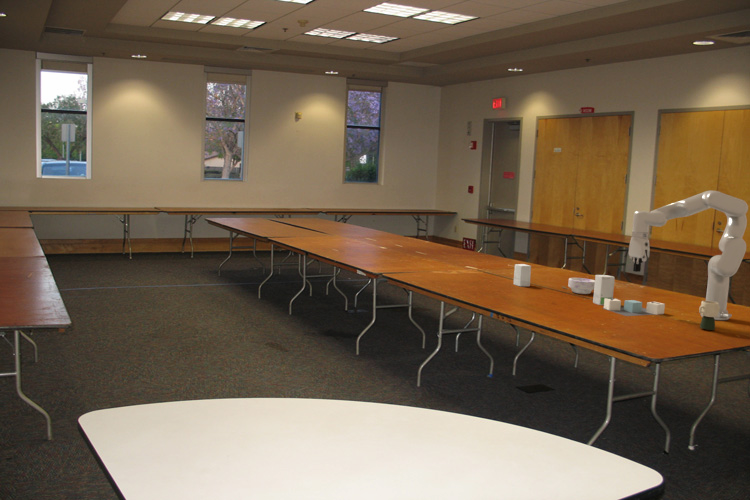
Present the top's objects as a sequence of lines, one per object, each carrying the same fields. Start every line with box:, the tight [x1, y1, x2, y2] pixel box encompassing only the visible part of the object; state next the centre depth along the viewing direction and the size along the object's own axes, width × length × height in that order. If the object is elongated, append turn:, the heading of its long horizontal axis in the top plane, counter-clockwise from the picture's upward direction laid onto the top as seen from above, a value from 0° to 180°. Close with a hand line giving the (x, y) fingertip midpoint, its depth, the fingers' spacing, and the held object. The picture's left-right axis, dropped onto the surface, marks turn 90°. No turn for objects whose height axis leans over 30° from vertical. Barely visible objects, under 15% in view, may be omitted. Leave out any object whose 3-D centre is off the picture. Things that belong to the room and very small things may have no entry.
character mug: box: [698, 300, 720, 331], centre depth 303 cm, size 11×7×13 cm, turn 106°
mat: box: [602, 306, 656, 317], centre depth 337 cm, size 18×24×1 cm
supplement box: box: [513, 263, 532, 287], centre depth 400 cm, size 7×7×13 cm
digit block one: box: [645, 301, 666, 315], centre depth 334 cm, size 6×6×5 cm
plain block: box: [623, 299, 643, 313], centre depth 336 cm, size 6×6×5 cm
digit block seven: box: [603, 297, 622, 311], centre depth 339 cm, size 6×6×5 cm
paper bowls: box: [567, 277, 595, 295], centre depth 384 cm, size 15×15×8 cm
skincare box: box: [592, 274, 616, 306], centre depth 352 cm, size 8×7×16 cm
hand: (636, 271), depth 334 cm, fingers closed
